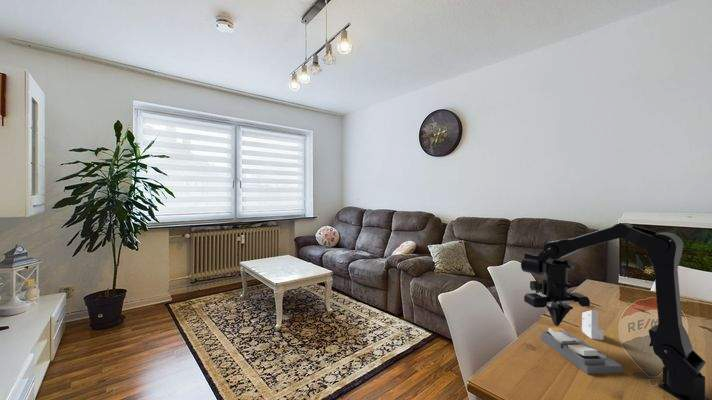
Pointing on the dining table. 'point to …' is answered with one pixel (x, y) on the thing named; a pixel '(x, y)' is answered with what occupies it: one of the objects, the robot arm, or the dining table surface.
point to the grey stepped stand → (583, 362)
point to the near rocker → (583, 350)
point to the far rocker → (560, 335)
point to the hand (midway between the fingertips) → (556, 325)
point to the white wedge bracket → (591, 325)
